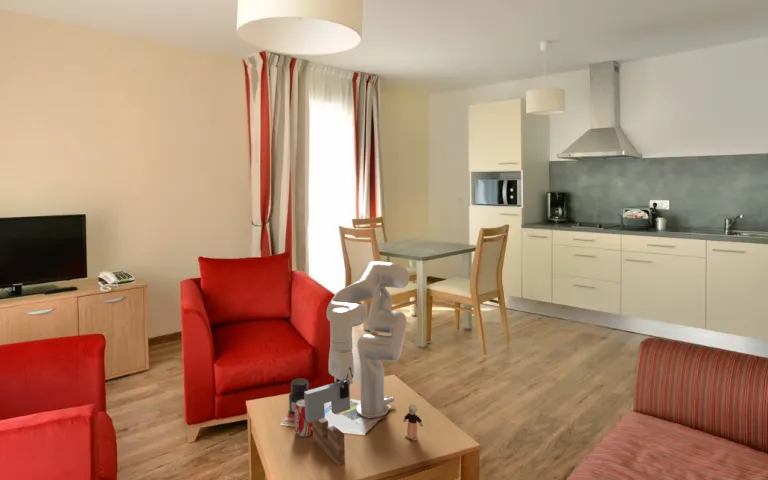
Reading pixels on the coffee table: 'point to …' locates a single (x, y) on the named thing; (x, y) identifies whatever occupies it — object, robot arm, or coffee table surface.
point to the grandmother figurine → (412, 422)
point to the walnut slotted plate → (329, 440)
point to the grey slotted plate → (324, 401)
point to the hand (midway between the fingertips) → (342, 395)
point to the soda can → (302, 420)
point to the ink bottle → (297, 392)
